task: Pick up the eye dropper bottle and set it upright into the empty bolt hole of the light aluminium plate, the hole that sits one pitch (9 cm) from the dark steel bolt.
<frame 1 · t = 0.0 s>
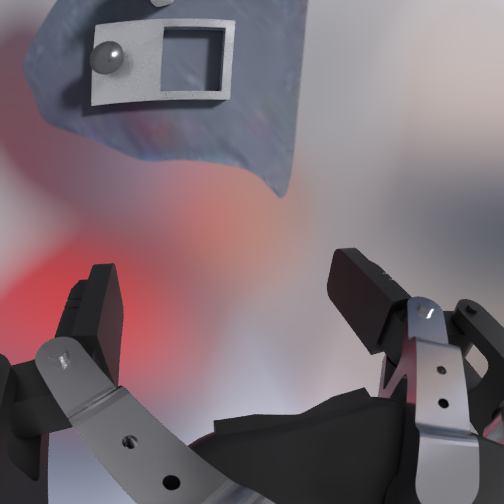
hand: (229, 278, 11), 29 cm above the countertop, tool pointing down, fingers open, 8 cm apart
bolt plate: (161, 60, 30), on the countertop
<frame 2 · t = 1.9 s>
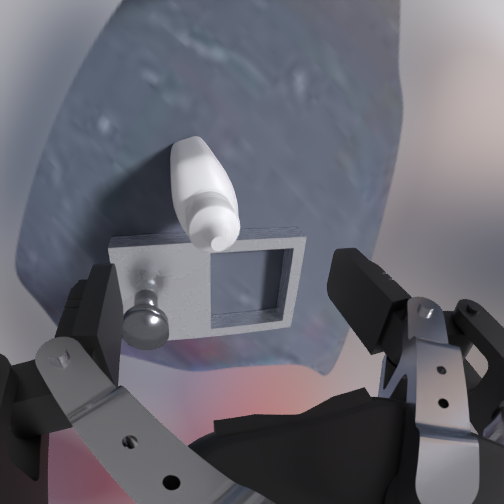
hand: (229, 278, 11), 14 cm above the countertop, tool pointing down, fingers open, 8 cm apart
bolt plate: (207, 281, 28), on the countertop
eye dropper bottle: (194, 171, 23), on the countertop
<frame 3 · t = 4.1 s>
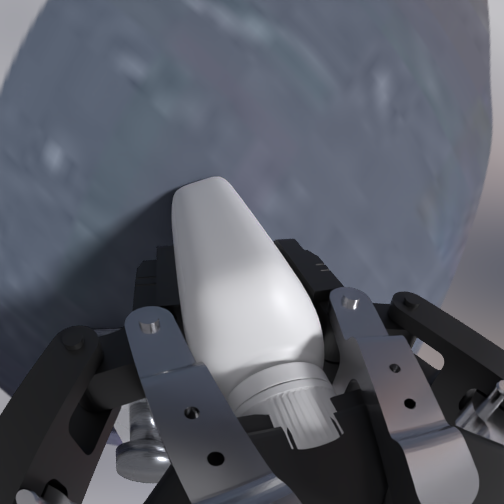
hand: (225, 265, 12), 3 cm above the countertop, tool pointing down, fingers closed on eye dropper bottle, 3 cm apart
bolt plate: (229, 377, 19), on the countertop
eye dropper bottle: (213, 234, 14), on the countertop, touching gripper
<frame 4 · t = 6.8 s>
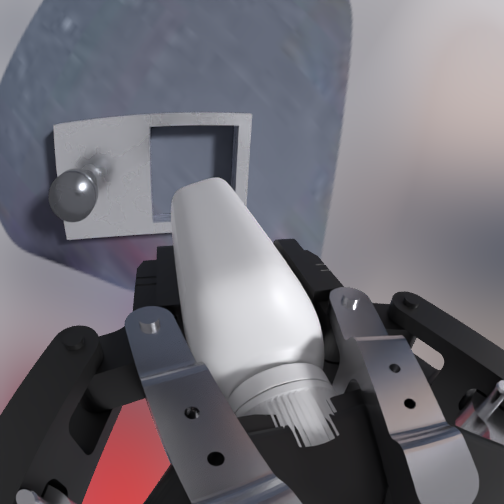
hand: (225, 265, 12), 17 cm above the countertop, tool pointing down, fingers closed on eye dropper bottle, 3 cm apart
bolt plate: (151, 170, 25), on the countertop
eye dropper bottle: (212, 234, 14), point 14 cm above the countertop, touching gripper
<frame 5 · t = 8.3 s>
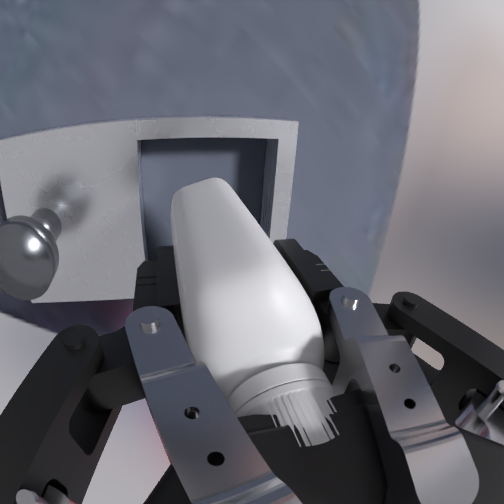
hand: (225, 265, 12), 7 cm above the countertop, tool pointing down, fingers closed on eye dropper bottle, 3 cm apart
bolt plate: (143, 204, 17), on the countertop
eye dropper bottle: (212, 235, 14), point 4 cm above the countertop, touching gripper
when the fingers open (4 cm above the countertop, at t = 9.7 s): eye dropper bottle drops 1 cm, resting in bolt plate.
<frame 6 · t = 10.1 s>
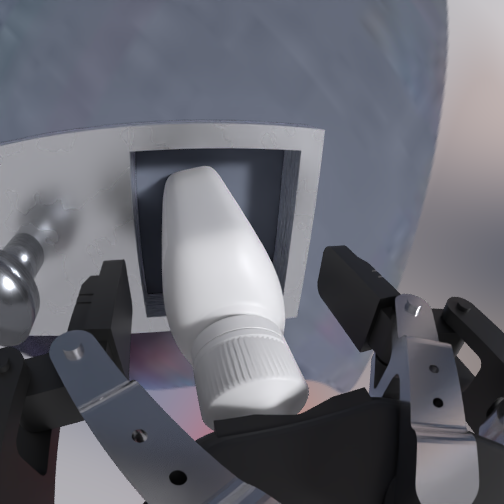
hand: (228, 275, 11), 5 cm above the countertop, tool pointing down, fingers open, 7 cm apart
bolt plate: (139, 226, 14), on the countertop
eye dropper bottle: (199, 219, 15), resting in bolt plate
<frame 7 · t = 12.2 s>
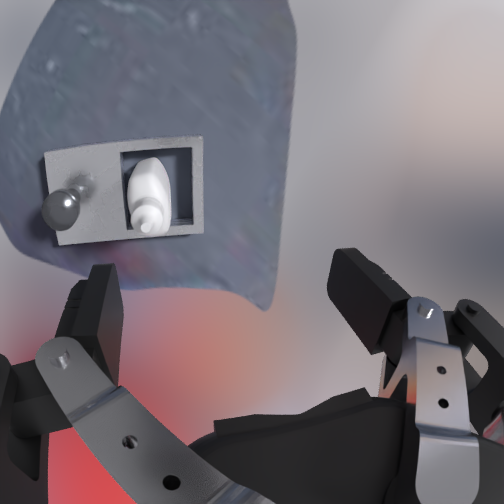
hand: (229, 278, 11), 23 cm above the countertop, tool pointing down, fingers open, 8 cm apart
bolt plate: (125, 186, 30), on the countertop
eye dropper bottle: (153, 183, 31), resting in bolt plate
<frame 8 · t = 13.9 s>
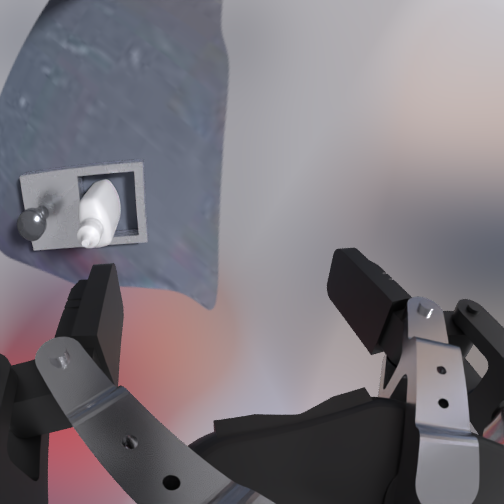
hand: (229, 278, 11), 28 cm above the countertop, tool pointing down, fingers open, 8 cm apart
bolt plate: (84, 203, 34), on the countertop
eye dropper bottle: (107, 200, 35), resting in bolt plate
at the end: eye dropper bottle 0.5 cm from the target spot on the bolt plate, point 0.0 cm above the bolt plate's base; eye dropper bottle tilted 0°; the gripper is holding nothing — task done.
